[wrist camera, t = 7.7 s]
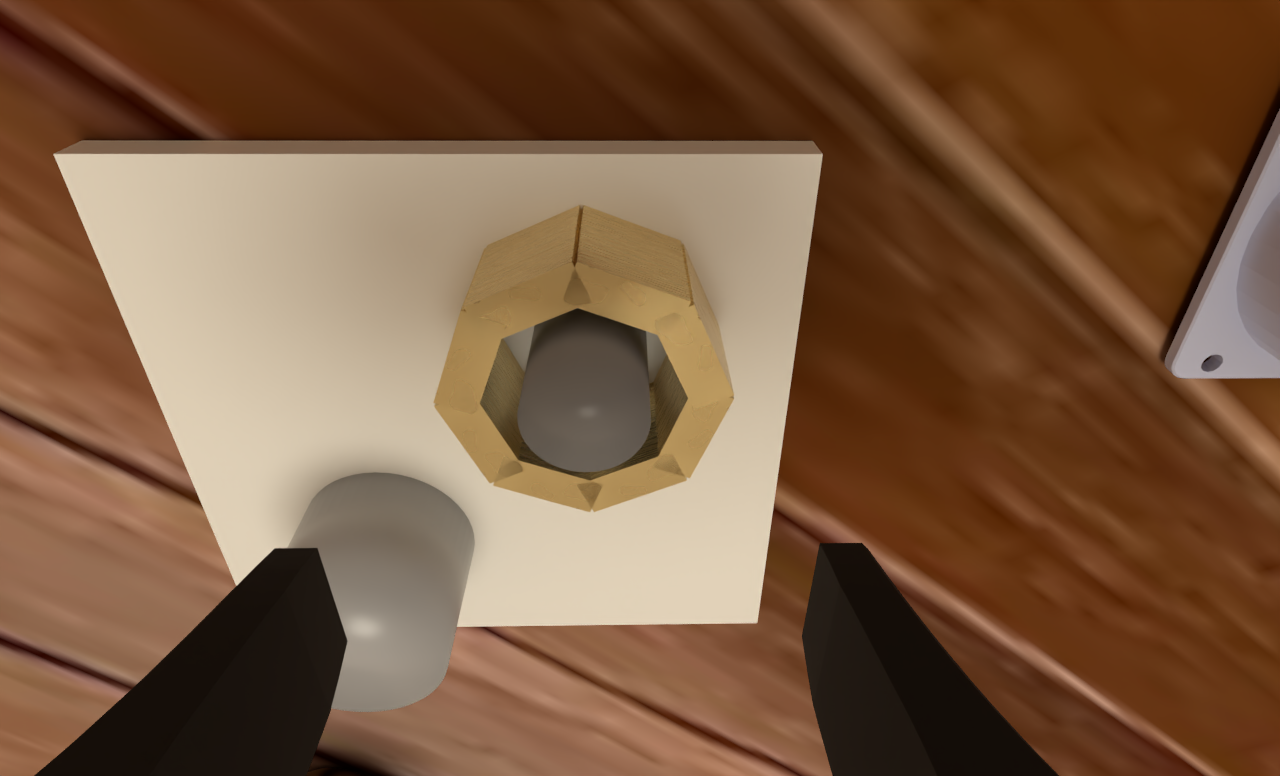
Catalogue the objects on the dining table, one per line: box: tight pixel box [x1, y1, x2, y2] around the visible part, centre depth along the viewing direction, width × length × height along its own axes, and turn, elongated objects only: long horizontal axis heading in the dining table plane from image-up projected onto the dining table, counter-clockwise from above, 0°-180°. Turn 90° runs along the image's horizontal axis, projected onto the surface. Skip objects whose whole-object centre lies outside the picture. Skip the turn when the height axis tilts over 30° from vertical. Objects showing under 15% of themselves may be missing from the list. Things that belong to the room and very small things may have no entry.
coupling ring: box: [433, 205, 734, 512], centre depth 17 cm, size 6×6×3 cm
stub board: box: [54, 140, 823, 712], centre depth 19 cm, size 16×15×5 cm
